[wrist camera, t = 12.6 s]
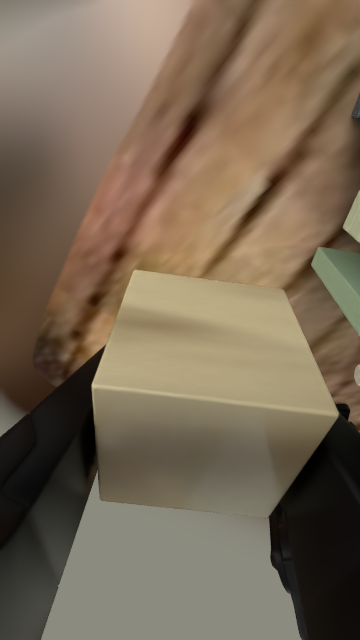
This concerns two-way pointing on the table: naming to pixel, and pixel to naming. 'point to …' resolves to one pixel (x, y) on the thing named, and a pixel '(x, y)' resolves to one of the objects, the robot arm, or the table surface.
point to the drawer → (343, 273)
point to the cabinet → (357, 109)
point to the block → (206, 397)
